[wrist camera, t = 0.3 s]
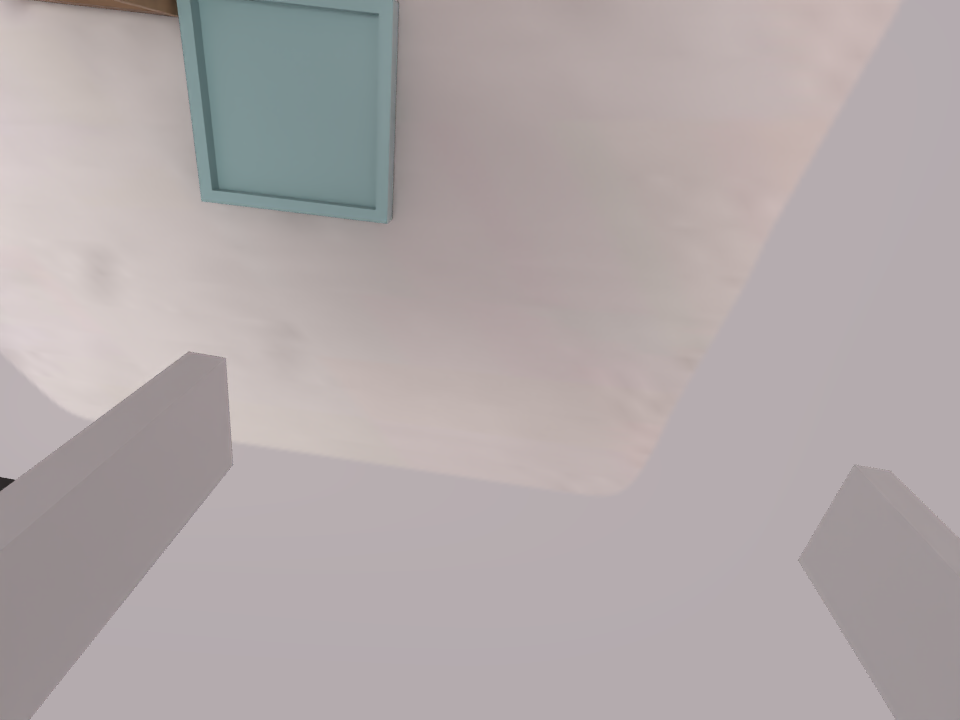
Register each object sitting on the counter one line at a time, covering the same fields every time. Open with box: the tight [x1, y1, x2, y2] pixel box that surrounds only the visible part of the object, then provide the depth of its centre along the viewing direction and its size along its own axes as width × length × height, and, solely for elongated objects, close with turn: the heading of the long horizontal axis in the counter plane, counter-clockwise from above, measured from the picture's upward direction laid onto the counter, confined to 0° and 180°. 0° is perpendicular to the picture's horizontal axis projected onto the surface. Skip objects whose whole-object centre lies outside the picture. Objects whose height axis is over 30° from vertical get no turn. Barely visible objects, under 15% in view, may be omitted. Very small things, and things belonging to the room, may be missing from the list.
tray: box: [177, 0, 399, 224], centre depth 33 cm, size 13×13×2 cm
